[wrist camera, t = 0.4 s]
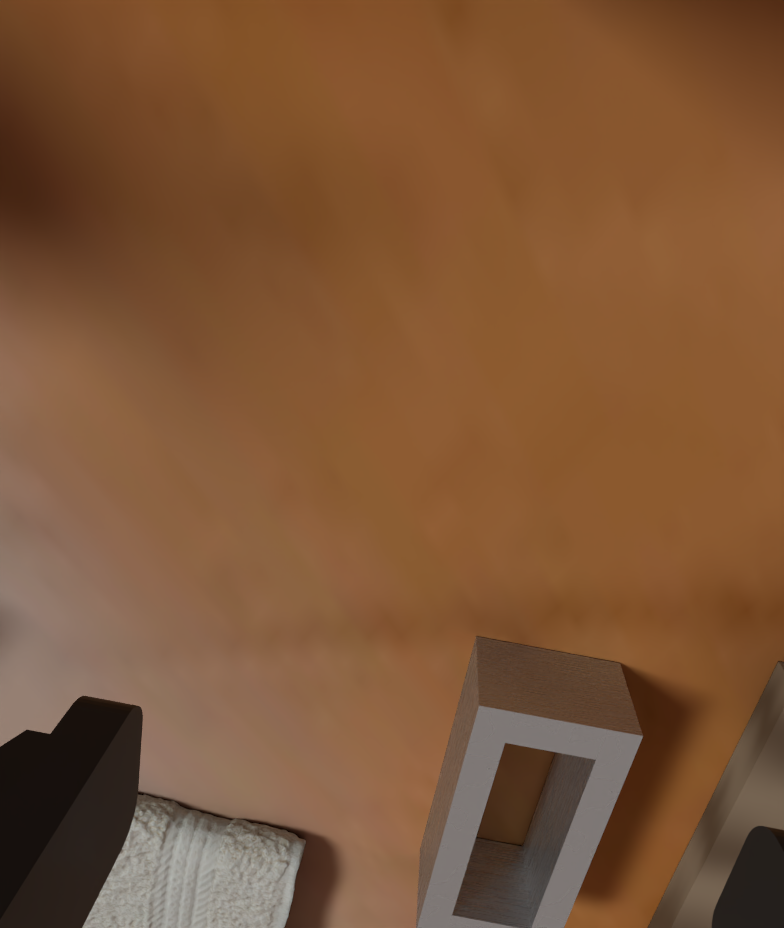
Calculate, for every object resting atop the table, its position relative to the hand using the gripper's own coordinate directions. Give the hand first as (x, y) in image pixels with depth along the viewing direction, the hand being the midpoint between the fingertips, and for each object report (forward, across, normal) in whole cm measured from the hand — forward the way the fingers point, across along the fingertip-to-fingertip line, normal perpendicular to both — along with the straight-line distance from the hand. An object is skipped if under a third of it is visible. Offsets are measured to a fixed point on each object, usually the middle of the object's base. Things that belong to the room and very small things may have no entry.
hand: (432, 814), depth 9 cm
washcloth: (+21, +9, +30) cm, 38 cm away
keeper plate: (+19, -23, +17) cm, 34 cm away
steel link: (+19, -6, +15) cm, 25 cm away
